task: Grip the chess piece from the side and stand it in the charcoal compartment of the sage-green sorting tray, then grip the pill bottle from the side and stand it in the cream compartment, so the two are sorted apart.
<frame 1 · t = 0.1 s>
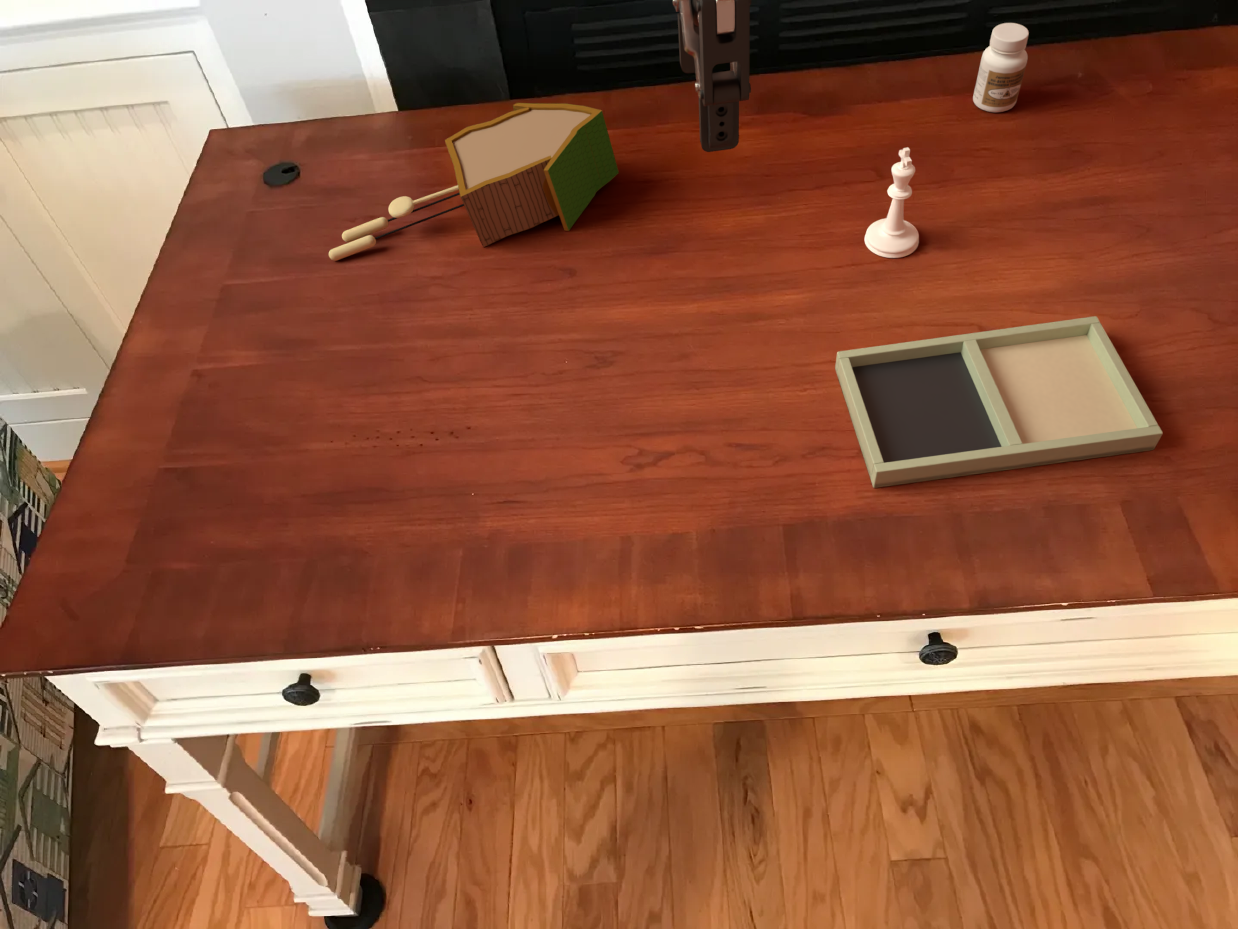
hand: (708, 106, 61), 27 cm above the table, tool pointing down, fingers open, 8 cm apart
sorting tray: (986, 407, 79), on the table
cuckoo clock: (477, 218, 99), on the table
pill bottle: (993, 103, 103), on the table
chess piece: (891, 242, 92), on the table
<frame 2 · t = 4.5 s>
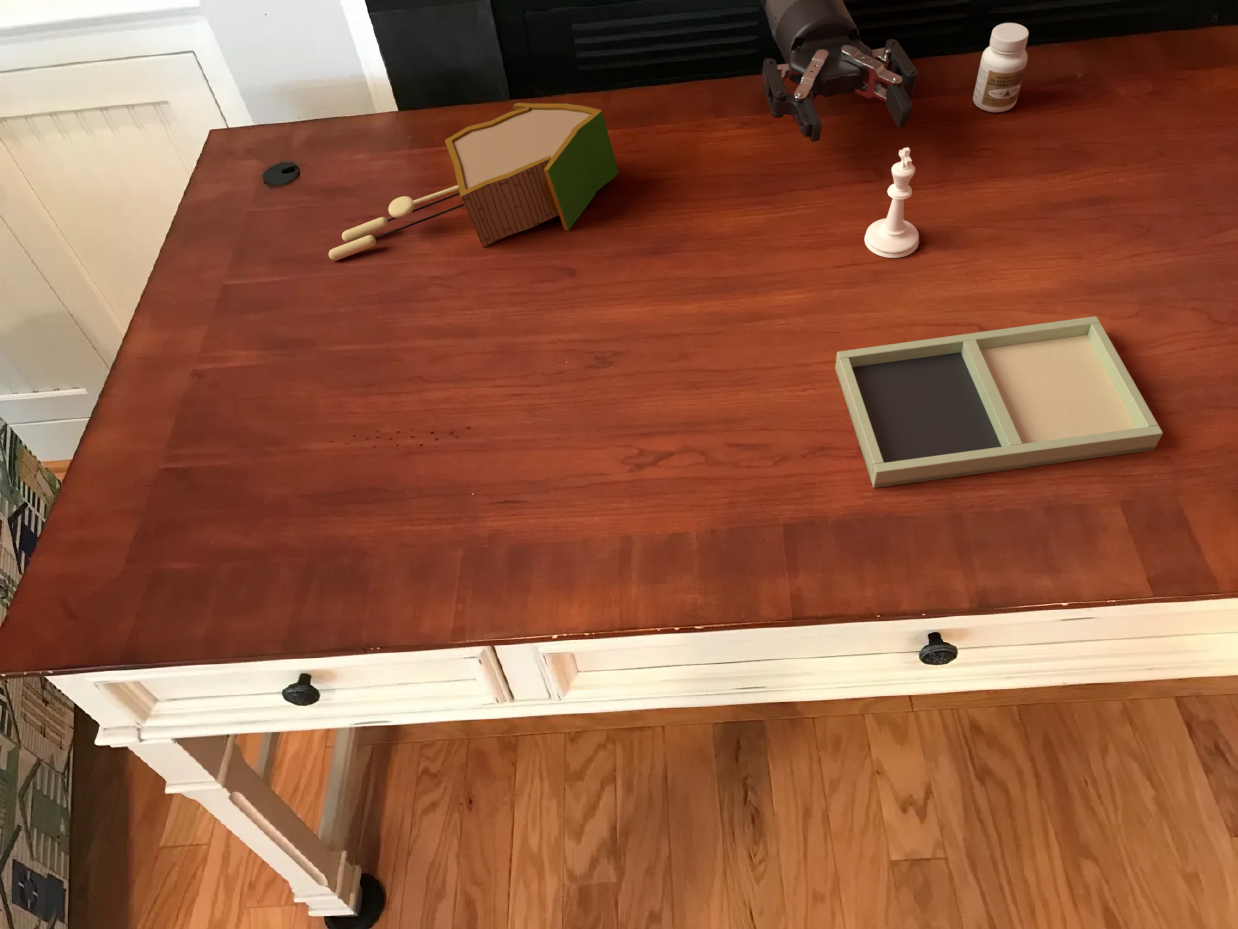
hand: (861, 126, 92), 6 cm above the table, tool horizontal, fingers open, 8 cm apart
nothing on the table moved.
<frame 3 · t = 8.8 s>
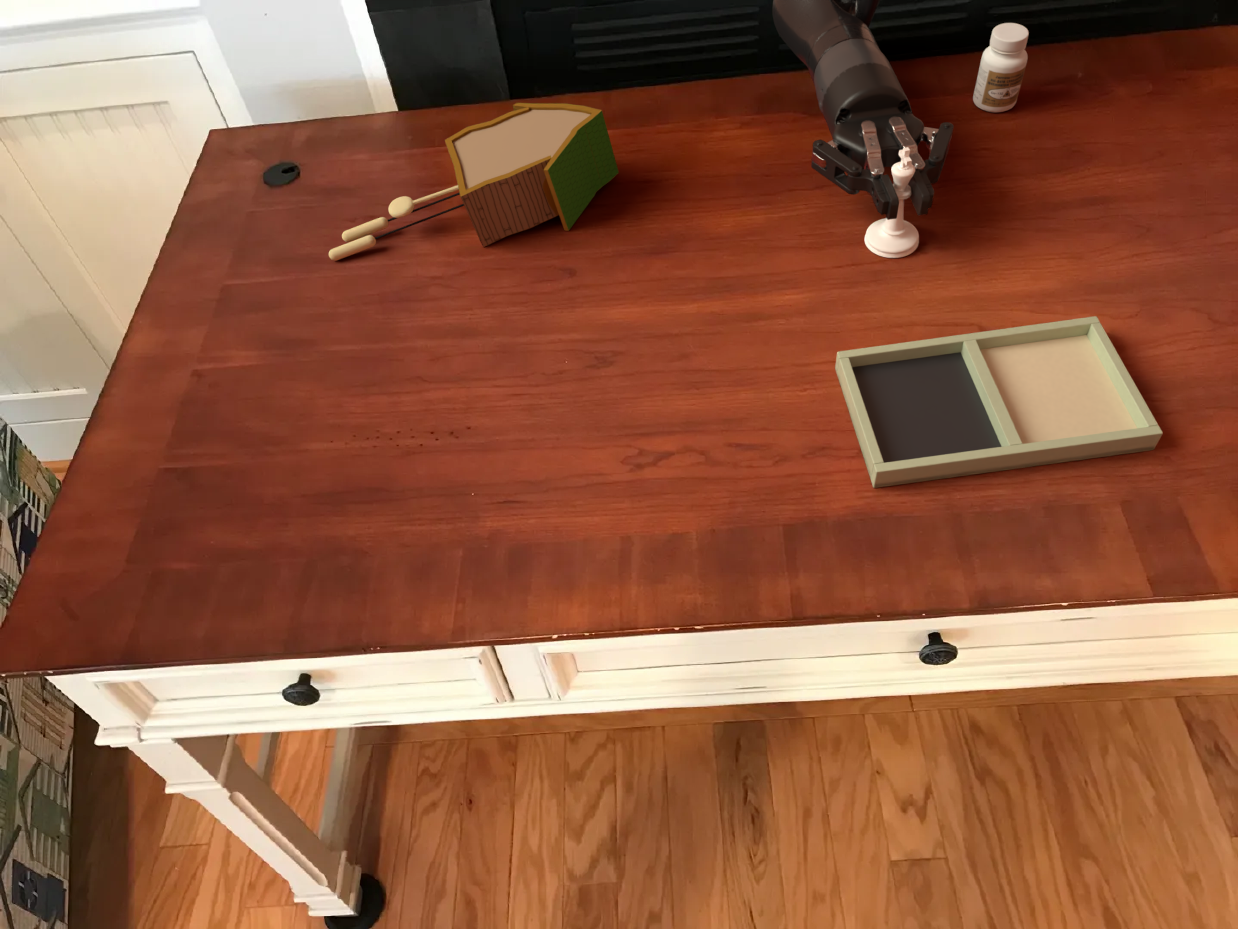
hand: (909, 208, 85), 6 cm above the table, tool horizontal, fingers closed on chess piece
chess piece: (891, 242, 92), on the table, touching gripper
everything else where it was.
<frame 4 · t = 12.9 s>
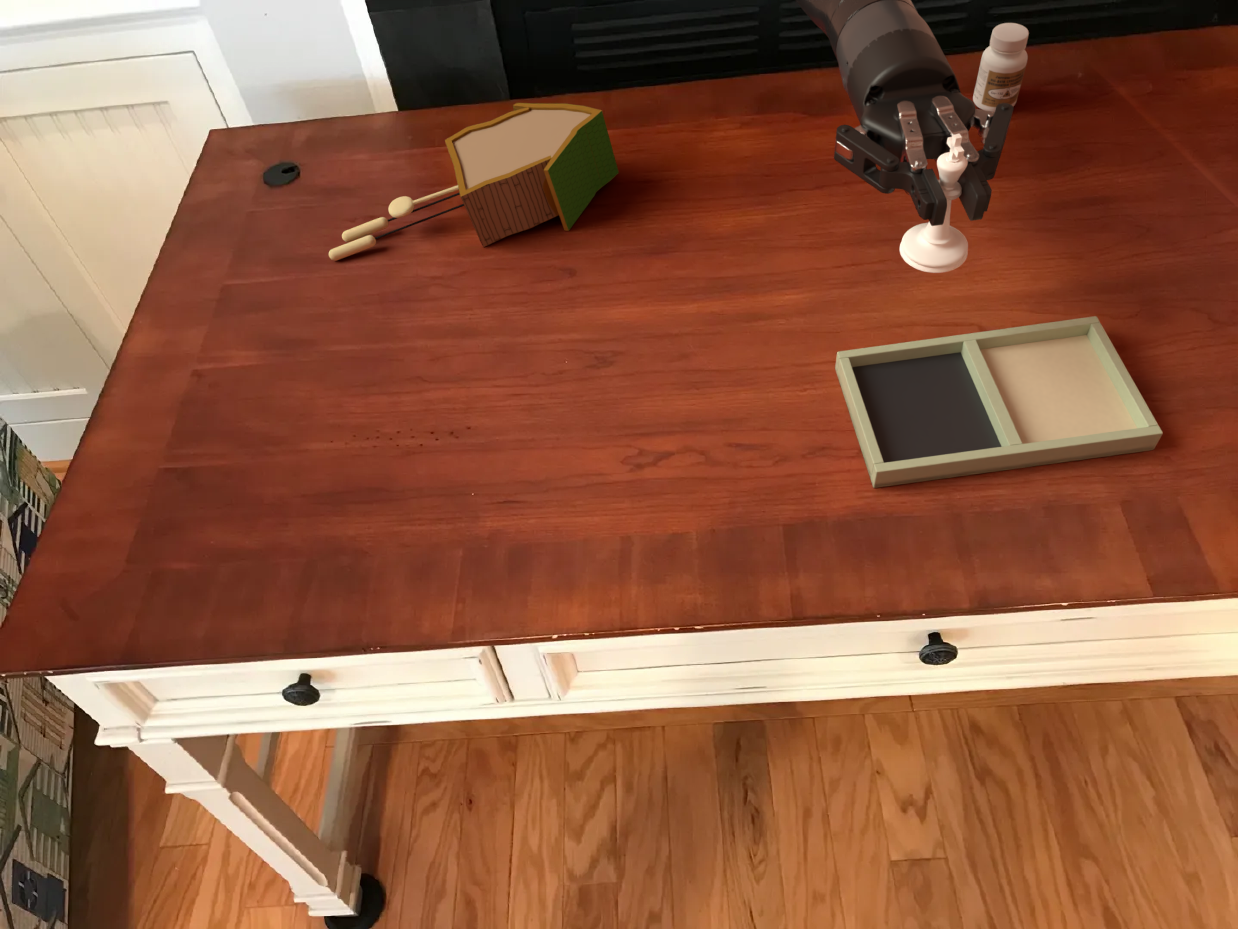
hand: (960, 212, 67), 18 cm above the table, tool horizontal, fingers closed on chess piece
chess piece: (932, 252, 74), point 11 cm above the table, touching gripper
everything else where it was.
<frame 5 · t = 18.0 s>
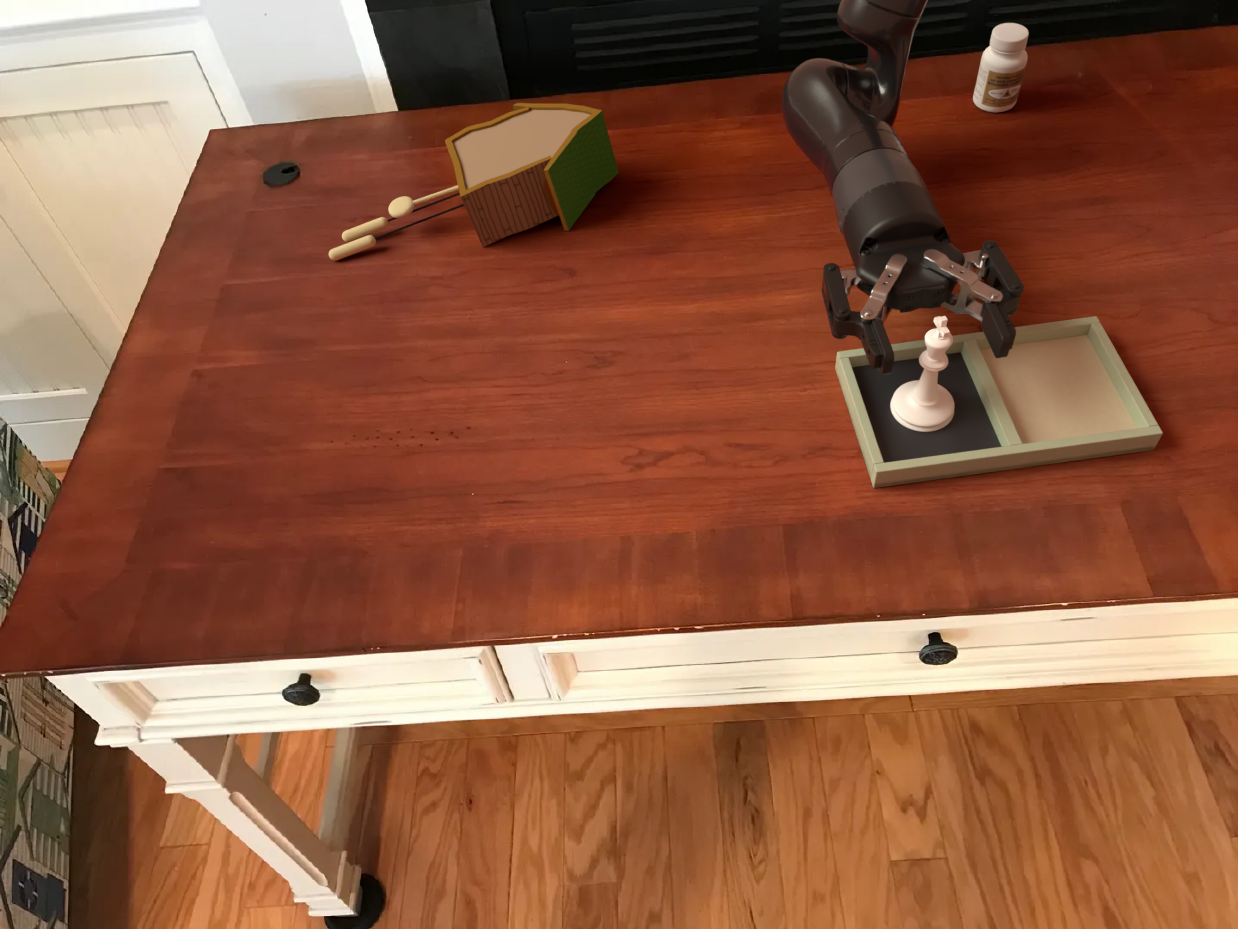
hand: (946, 358, 71), 8 cm above the table, tool horizontal, fingers open, 8 cm apart
chess piece: (921, 409, 79), point 1 cm above the table, touching sorting tray
everything else where it was.
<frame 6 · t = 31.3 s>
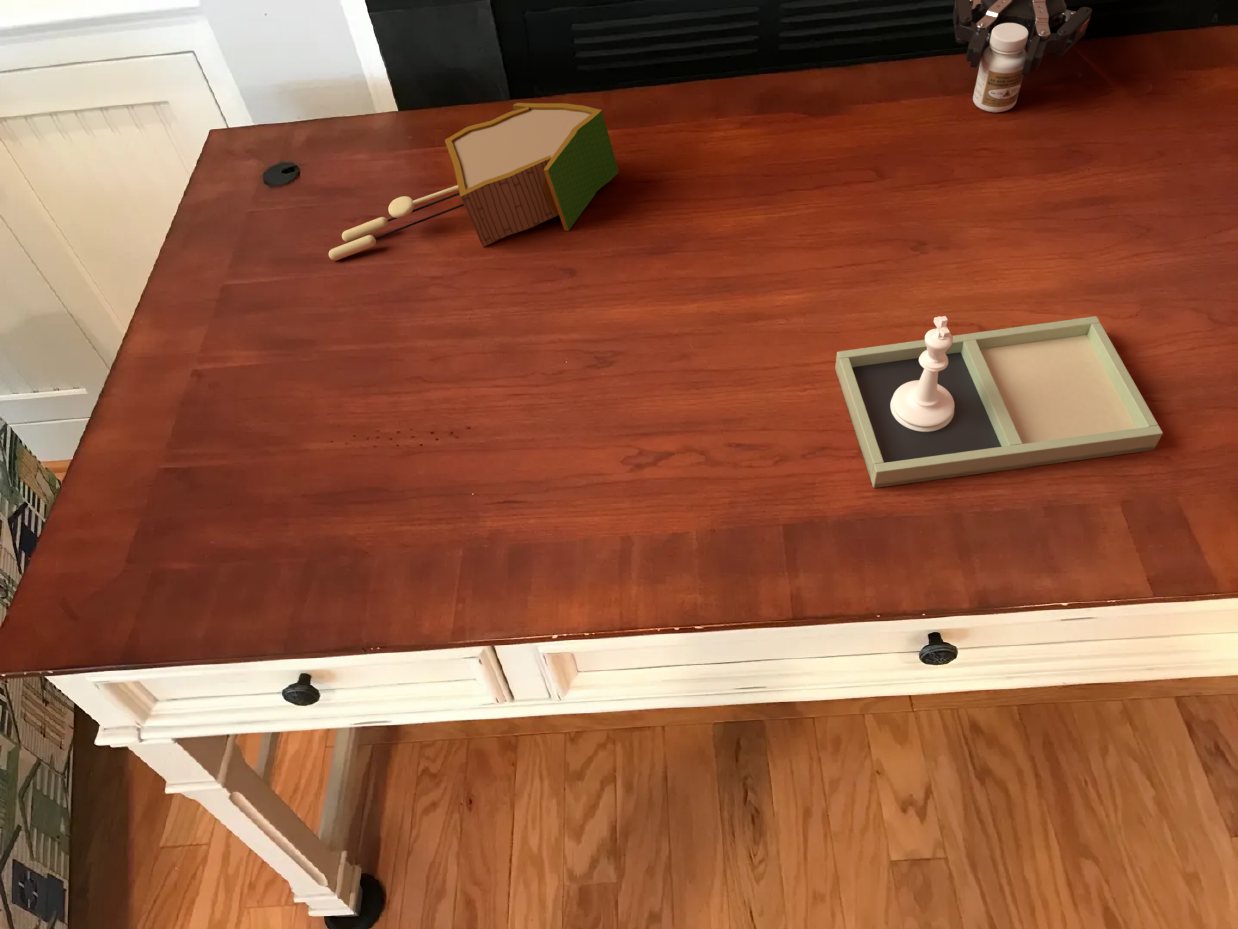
hand: (1001, 62, 97), 6 cm above the table, tool horizontal, fingers closed on pill bottle, 4 cm apart
pill bottle: (993, 103, 103), on the table, touching gripper
everything else where it was.
when the fingers open (7 cm above the table, at t = 42.2 s): pill bottle stays where it is, resting on sorting tray.
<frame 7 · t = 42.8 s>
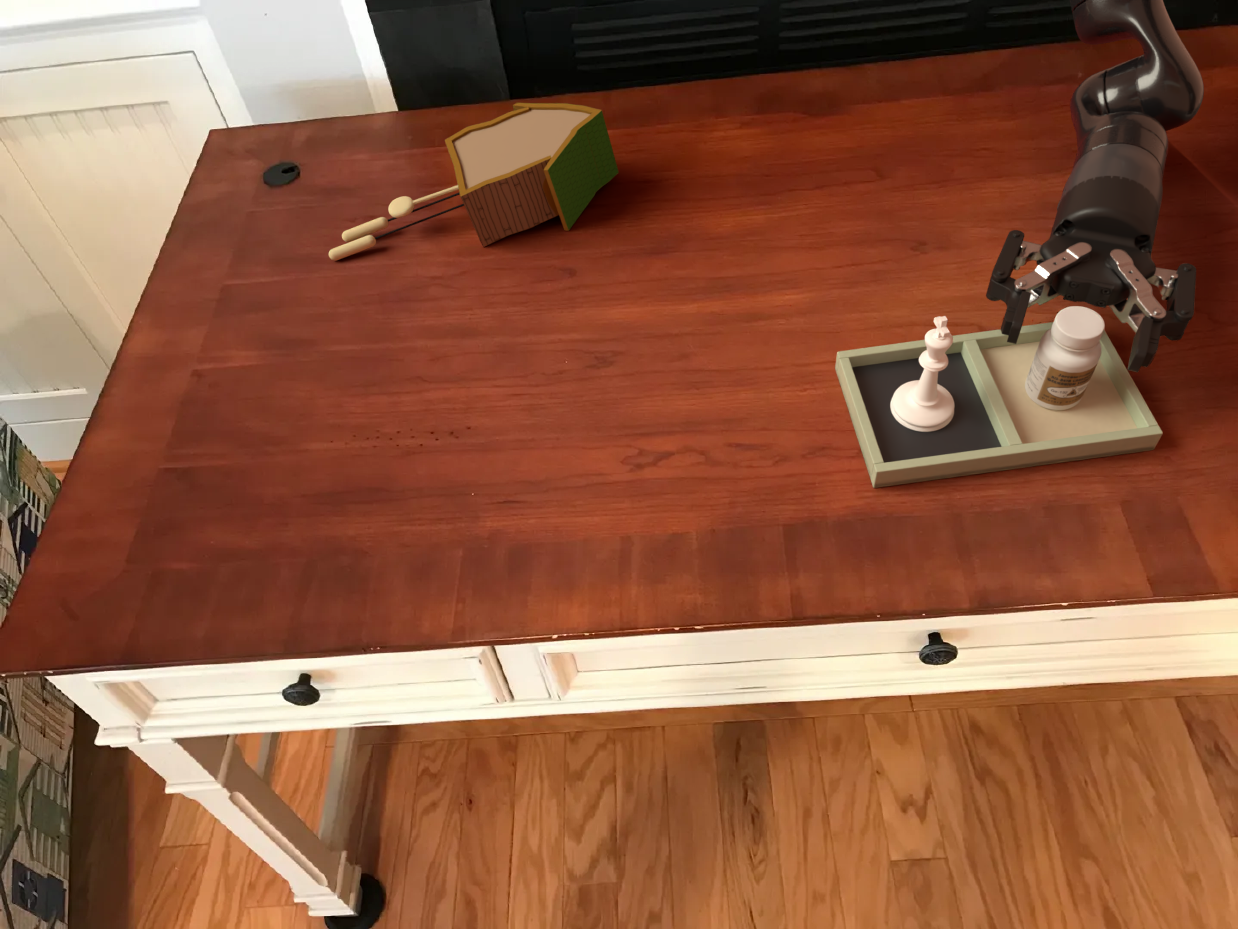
hand: (1074, 349, 72), 8 cm above the table, tool horizontal, fingers open, 8 cm apart
pill bottle: (1052, 392, 78), point 1 cm above the table, touching sorting tray
everything else where it was.
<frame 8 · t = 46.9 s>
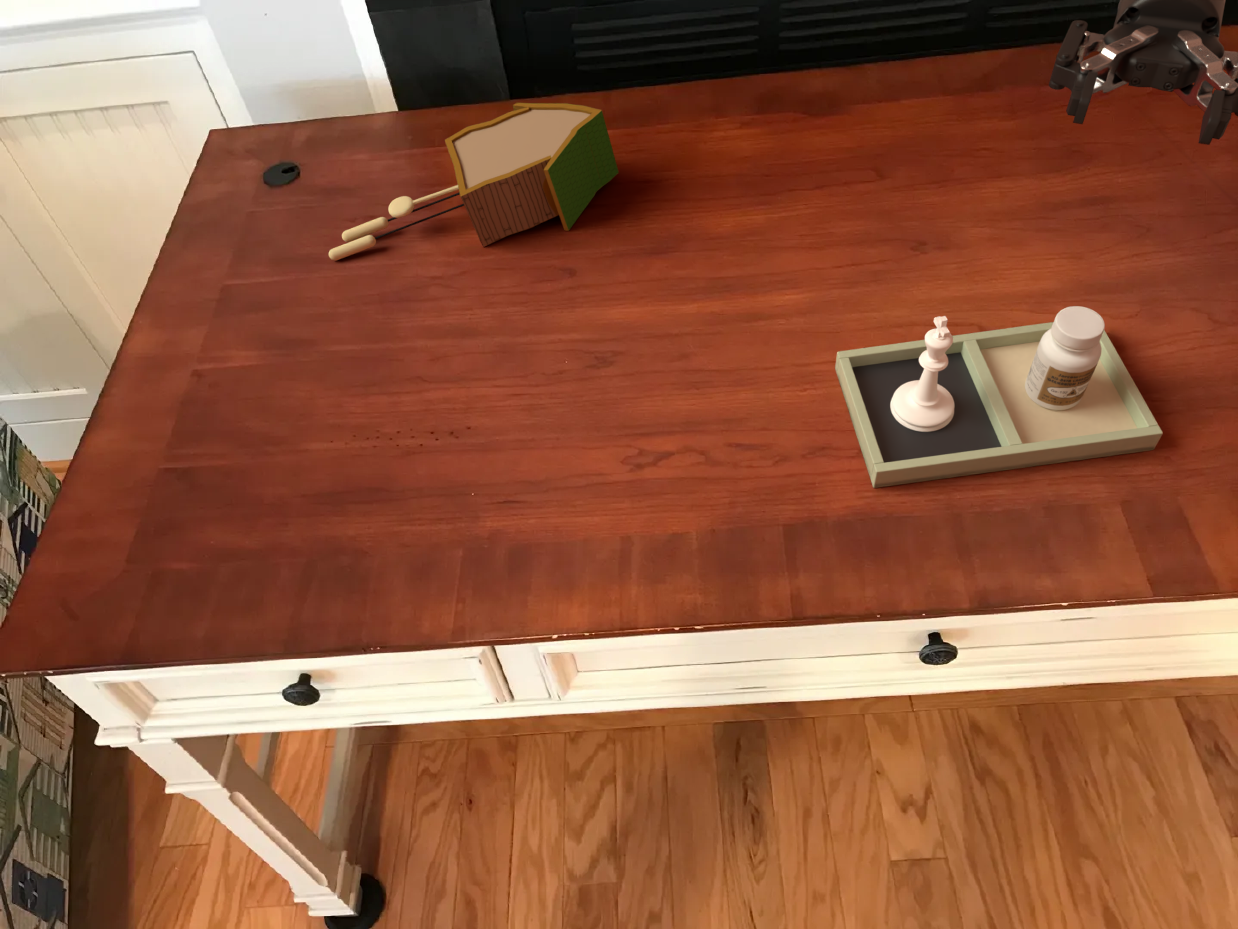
hand: (1144, 123, 70), 18 cm above the table, tool horizontal, fingers open, 8 cm apart
nothing on the table moved.
at the end: chess piece inside the target area on the sorting tray (0.2 cm from its centre), point 0.6 cm above the sorting tray's base; pill bottle inside the target area on the sorting tray (0.1 cm from its centre), point 0.6 cm above the sorting tray's base; pill bottle tilted 0° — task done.
